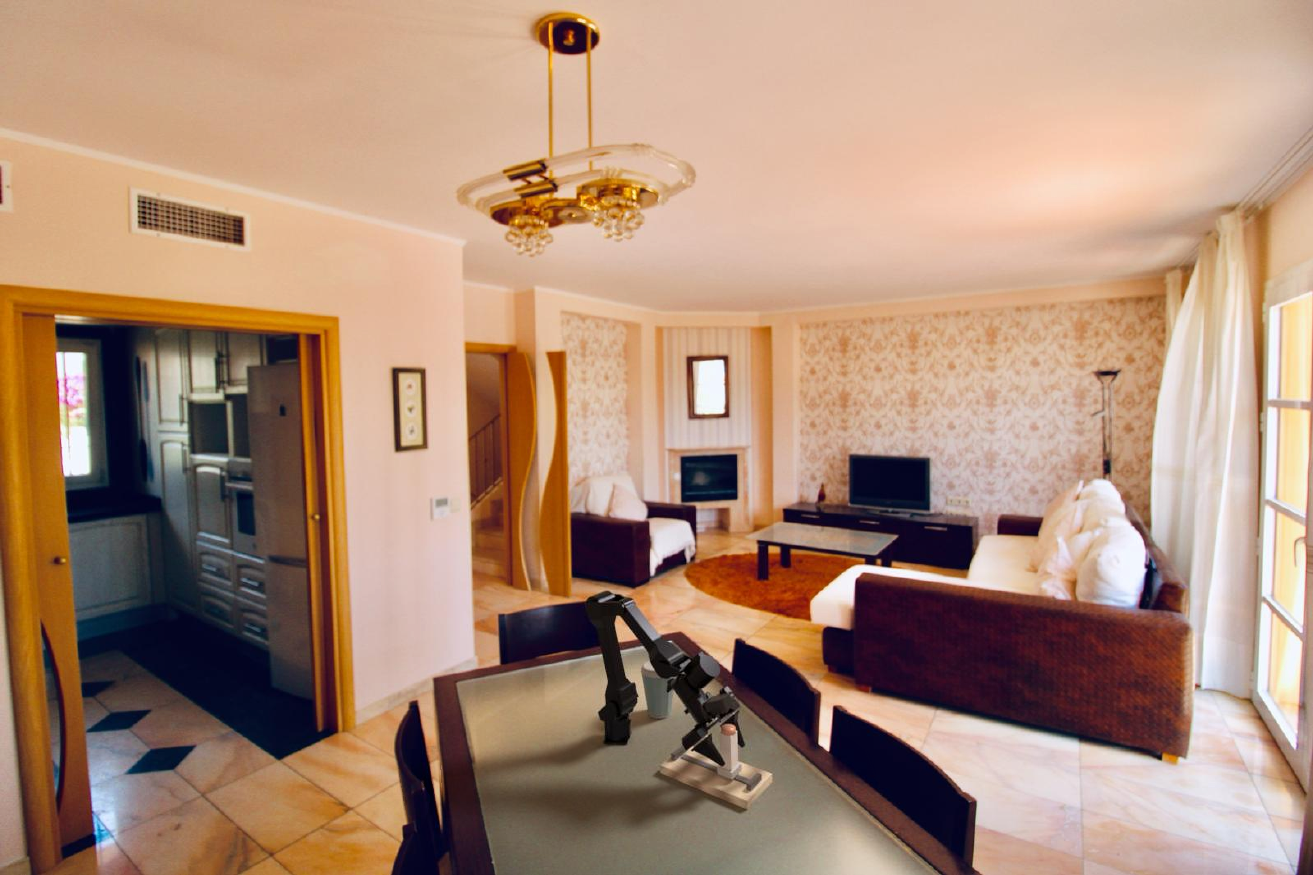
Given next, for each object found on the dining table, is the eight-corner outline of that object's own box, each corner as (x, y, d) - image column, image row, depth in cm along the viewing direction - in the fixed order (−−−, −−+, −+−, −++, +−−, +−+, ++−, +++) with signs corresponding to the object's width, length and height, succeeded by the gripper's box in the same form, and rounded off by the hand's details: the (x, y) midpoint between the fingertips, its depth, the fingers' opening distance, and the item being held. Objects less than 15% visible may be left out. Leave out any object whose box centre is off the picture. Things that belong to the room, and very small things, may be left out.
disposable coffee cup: (636, 719, 177) (634, 667, 176) (650, 701, 187) (648, 653, 186) (670, 725, 173) (669, 673, 172) (683, 707, 183) (682, 657, 182)
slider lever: (717, 773, 145) (716, 729, 145) (726, 764, 149) (725, 721, 148) (732, 779, 143) (731, 734, 142) (741, 770, 146) (740, 726, 146)
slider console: (660, 773, 151) (659, 759, 151) (687, 749, 160) (687, 737, 160) (747, 809, 136) (747, 794, 136) (772, 782, 146) (771, 768, 146)
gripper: (690, 696, 140) (734, 759, 134) (732, 666, 154) (773, 722, 148) (663, 720, 145) (704, 782, 139) (706, 689, 160) (745, 743, 154)
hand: (734, 755), depth 145 cm, fingers open, 9 cm apart
